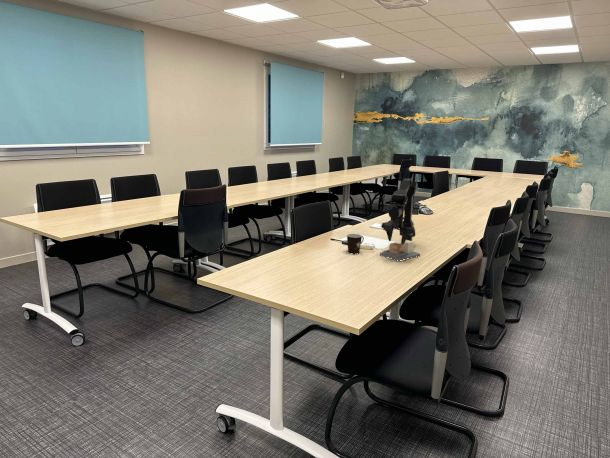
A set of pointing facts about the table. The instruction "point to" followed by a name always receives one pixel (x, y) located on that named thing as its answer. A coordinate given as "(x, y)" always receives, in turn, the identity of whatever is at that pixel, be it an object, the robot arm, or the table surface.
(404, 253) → the socket board
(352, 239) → the coffee mug
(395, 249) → the terracotta block
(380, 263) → the table surface
